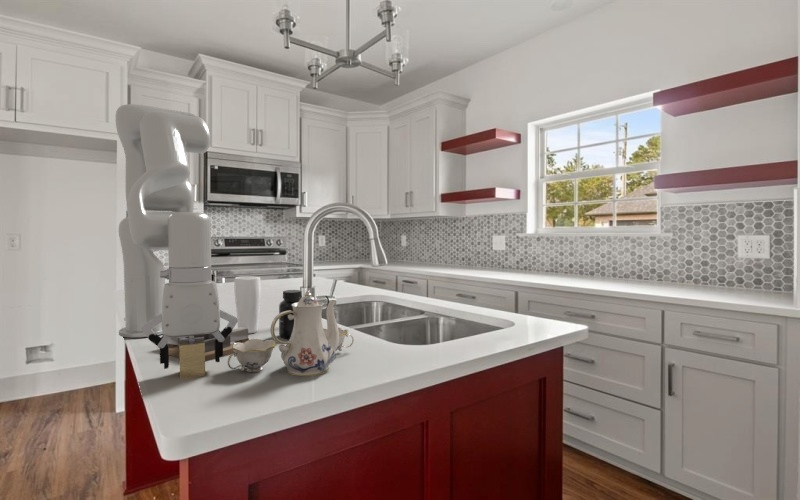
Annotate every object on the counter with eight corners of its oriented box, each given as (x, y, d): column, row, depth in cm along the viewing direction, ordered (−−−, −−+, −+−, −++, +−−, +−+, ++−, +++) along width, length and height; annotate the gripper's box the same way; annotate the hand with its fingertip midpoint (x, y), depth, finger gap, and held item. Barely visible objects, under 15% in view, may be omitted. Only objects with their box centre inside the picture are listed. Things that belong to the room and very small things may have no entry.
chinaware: (333, 351, 107) (328, 284, 108) (379, 359, 96) (373, 283, 96) (219, 380, 87) (214, 297, 88) (259, 394, 76) (253, 298, 76)
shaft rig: (154, 350, 102) (154, 334, 101) (218, 335, 115) (218, 321, 115) (197, 363, 92) (196, 346, 92) (260, 345, 106) (260, 330, 106)
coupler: (180, 371, 87) (179, 337, 87) (204, 368, 89) (203, 334, 89) (180, 378, 83) (179, 342, 83) (205, 375, 85) (204, 340, 85)
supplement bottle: (273, 337, 114) (273, 292, 113) (288, 331, 120) (288, 288, 119) (296, 340, 111) (296, 293, 111) (310, 334, 118) (310, 289, 117)
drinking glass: (253, 335, 116) (252, 279, 115) (229, 334, 117) (229, 278, 116) (265, 329, 122) (265, 276, 121) (243, 328, 124) (243, 275, 123)
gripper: (136, 280, 78) (139, 376, 79) (240, 275, 86) (241, 363, 86) (140, 275, 85) (142, 364, 85) (235, 272, 92) (237, 353, 93)
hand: (192, 363), depth 86 cm, fingers open, 8 cm apart
